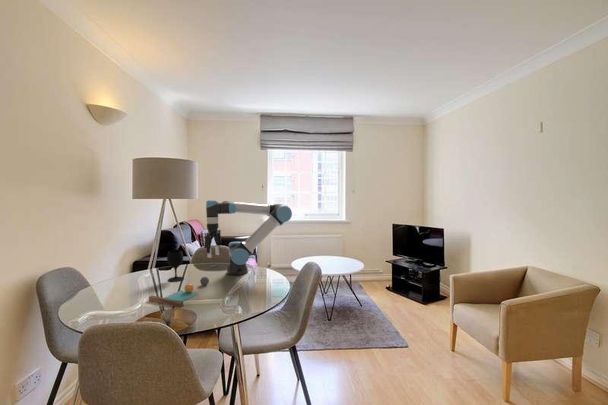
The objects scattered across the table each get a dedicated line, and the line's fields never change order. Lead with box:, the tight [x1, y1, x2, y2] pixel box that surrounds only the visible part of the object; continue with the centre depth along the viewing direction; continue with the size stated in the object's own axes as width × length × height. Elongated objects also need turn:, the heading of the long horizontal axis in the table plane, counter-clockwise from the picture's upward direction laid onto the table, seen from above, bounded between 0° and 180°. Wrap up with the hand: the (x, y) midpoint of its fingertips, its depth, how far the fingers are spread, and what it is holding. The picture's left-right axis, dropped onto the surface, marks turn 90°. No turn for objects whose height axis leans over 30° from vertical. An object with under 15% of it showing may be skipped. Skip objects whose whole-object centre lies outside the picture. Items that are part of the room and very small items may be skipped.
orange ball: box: [183, 283, 195, 293], centre depth 192 cm, size 6×6×6 cm
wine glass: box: [166, 249, 185, 283], centre depth 216 cm, size 10×10×20 cm
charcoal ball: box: [199, 276, 210, 286], centre depth 205 cm, size 6×6×6 cm
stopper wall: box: [148, 294, 185, 308], centre depth 176 cm, size 2×24×2 cm, turn 67°
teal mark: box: [164, 289, 198, 303], centre depth 186 cm, size 14×14×1 cm
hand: (213, 256), depth 213 cm, fingers open, 8 cm apart
